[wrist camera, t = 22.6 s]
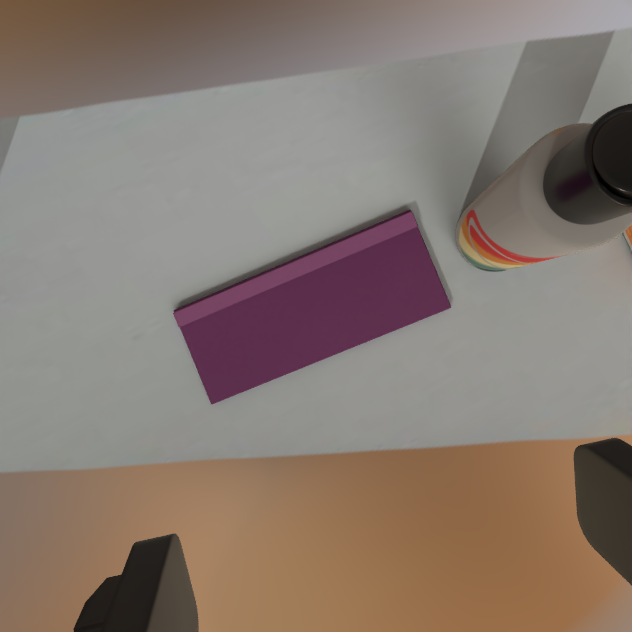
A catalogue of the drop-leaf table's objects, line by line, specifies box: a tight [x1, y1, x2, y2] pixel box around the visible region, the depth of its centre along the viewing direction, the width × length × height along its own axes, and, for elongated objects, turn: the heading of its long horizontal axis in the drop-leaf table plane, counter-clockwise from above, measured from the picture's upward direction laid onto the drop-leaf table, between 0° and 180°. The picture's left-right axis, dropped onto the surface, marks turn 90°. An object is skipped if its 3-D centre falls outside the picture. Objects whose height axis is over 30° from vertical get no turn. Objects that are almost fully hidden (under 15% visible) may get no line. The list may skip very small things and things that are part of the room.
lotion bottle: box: [456, 104, 632, 272], centre depth 27 cm, size 6×6×20 cm
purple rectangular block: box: [173, 210, 451, 404], centre depth 38 cm, size 20×8×1 cm, turn 113°
